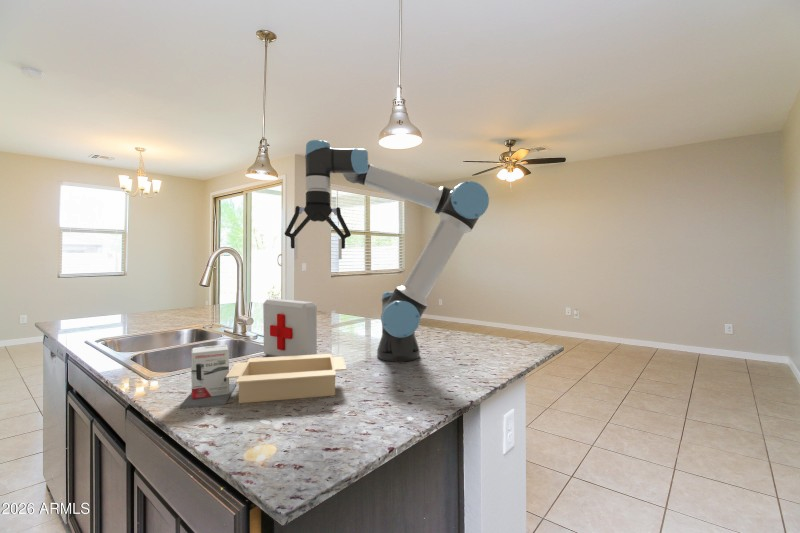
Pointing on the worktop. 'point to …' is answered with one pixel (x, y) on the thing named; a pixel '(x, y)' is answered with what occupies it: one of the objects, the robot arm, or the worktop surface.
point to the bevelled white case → (289, 327)
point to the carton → (286, 377)
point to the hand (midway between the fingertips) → (318, 259)
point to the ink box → (209, 371)
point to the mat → (208, 399)
